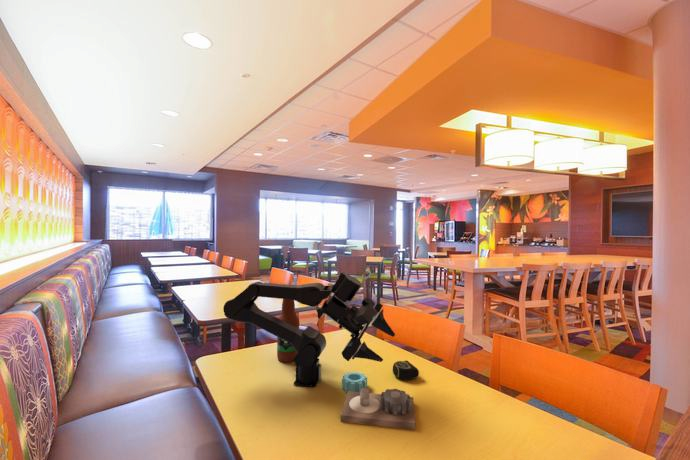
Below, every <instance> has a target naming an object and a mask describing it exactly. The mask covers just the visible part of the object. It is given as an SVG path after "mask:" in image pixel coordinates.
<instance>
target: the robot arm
mask: <svg viewBox="0 0 690 460" xmlns="http://www.w3.org/2000/svg"><path fill="white" fill-rule="evenodd" d="M362 286H363V284H362V282H361V281H360V280H359V279H358V278H357V277H356V276H353V275H350V274H349V273H345V271H341V273H340V274H339V276H338V278H337V280H336V281H335V283H334V284H332V285H325V284H323V283H321V282H311V283H304V284H297V285H296V284H284V283H273V282H263V281H255V282H252V283H250V284H249V285H248V286H247V287H246V288H245V289H244V290H242V291H241V292H240V293H239V294H237V295H236V296H235V297H234V298H232V299H229V300H227V301H226V302H225V303H224V305H223V313H224V316H225V317H226V318H227V319H229V320H231V321H235V322H238V323H239V322H240V323H249V324H252V325H254V326H255V327H257V328H259V329H261V330H263V331H265V332H267V333H269V334H271V335H273V336H275V337H276V338H277V337H279V338H281V339H283V340H285V341H287V342H289V343H291V344H292V345H293V347H294V348H295V349H296V351H297V352H298V353H297V355H296V356H295V357H294V358H293V360H294V361H293V362H294V365H295V380H294V382H293V386H301V387H309V388H310V387H311V388H315V387H317V385H318V383H319V382H320V380H321V379H322V364H321V363H320V356H321V354H322V353H323V351H324V350H325V348H327V347H326V346H327V340H326V337H325V335H324V334H322V333H321V332H322V331H321V330H318V329H315V328H314V327H312V326H310V325H308V326H307V327H306V328H305V329H301V328H299V329H298V328H296V327H294V326H292V325H290V324H288V323H286V322H284V321H282V320H280V319H279V318H278V317H276V316H274V315H272V314H270V313H268V312H266V311H264V310H262V309H260V308H259V307H258V305H257V304H256V303H255V301H256V300H257V299H259V297H261V298H270V299H279V300H281V299H282V300H283V299H290V300H294V302H295V301H296V302H297V303H299V304H301V305H304V306H308V307H313V308H314V307H317V308H316V312H317V319H321V318H322V317H323V316H324V315H326V316H327V317H328V318H330V319H331V320H332V321H334V322H335V323H336V324H338V325H339V326H338V329H340V330H342V329H345V330H346V331H347V332H349V333H350V337H351V338H350V340H349V341H348V342H347V343H346V345H345V346H344V348H343V349H342V351H341V355H342V357H343V359H345V360H346V361H347V362H349V361H350V360H351V359H352V360H355V358H358V359H365V360H369V361H375V362H378V363H379V362H381V363H382V362H383V361H384V359H383V358H382V357H381V356H380V355H379V354H378V353H377V352H375V351H374V350H373V349H371V348H370V347H368V345H367V344H366V342H365V341H363V342H362V340H361V339H362V338H363V336H364V334H365V332H366V331H367V329H368V327H369V326H371V327H374V328H376V329H377V330H379V331H381V332H383V333H385V334H386V335H388V336H389V337H393V338H394V337H395V336H396V334H395V331H393V329H392V327H390V325H389V323H388V322H387V320H386V319H385V317H384V308H383V306H384V305H383V304H382V303H381V302H379V301H374V300H372V299H371V298H369V297H368V296H367V297H364V298H363V299H362V301H361V305H360V307H357V306H354V305H352V306H349V305H348V304H347V302H353V299H354V298H355V297H356V294H358V292H359V291H360V289H361V287H362ZM331 295H332V296H331ZM330 296H331V298H330V299H329V297H330ZM322 302H323V303H322ZM321 303H322V305H321V306H319V305H320V304H321ZM318 306H319V307H318ZM370 324H371V325H370Z"/></svg>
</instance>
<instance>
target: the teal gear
mask: <svg viewBox="0 0 690 460" xmlns="http://www.w3.org/2000/svg"><path fill="white" fill-rule="evenodd" d="M341 388H342V389H343V390H344V391H345V392H346V393H348V391H354V392H360V389H362V388H367V389H368V377H367V375H365V373H363V372H362V373H361V372H358V371H352V372H351V371H349V372H347V373H344V374H343V375H342V377H341Z"/></svg>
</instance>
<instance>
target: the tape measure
mask: <svg viewBox="0 0 690 460" xmlns="http://www.w3.org/2000/svg"><path fill="white" fill-rule="evenodd" d="M392 373H393V375H394V376H395V377H396V378H398V379H400V380H412V379H414V378H417V377H419V375H420V371H419V369H418V368H417V367H416V366H415V365H414V364H412V363H411V362H410V361H408V360H406V359H405V360H397V361H395V362H393V365H392Z"/></svg>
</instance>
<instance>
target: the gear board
mask: <svg viewBox="0 0 690 460" xmlns="http://www.w3.org/2000/svg"><path fill="white" fill-rule="evenodd" d="M346 393H347V394H346V397H345V400H344V403H343V406H342V409H341V413H340V422H341V423H342V422H343V423H351V424H361V425H368V426H377V427H385V428H394V429H401V430H402V429H403V430H413V431H416V416H415V405H414V404H415V403H414V397H412V396H410V394H409V393H406V391H405V390H402V389H401V390H400V389H398V388H392V389H390V388H387V389H385V391H381V393H373V392H370V389H369V388H368V387H367V388H362V389H360V392H354V391H348V392H346Z"/></svg>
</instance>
